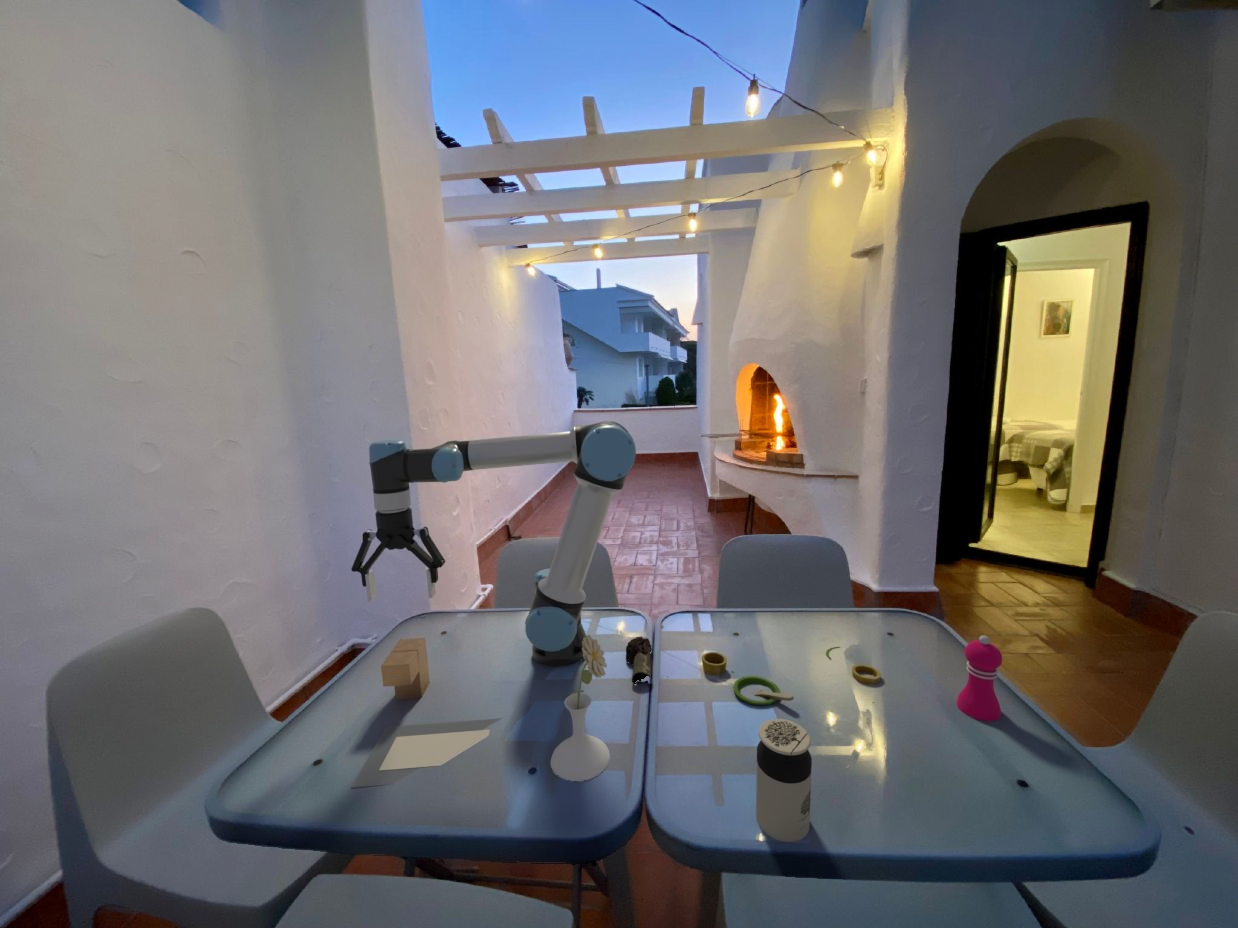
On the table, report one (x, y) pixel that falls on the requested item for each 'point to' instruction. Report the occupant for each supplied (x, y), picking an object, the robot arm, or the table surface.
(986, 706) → the pepper mill
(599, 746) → the flower in vase
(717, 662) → the tableware set
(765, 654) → the table surface
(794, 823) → the travel mug
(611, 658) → the table surface
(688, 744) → the table surface
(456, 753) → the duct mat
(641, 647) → the brown olive knobbed cylinder
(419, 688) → the wooden l-shaped block
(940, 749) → the table surface
